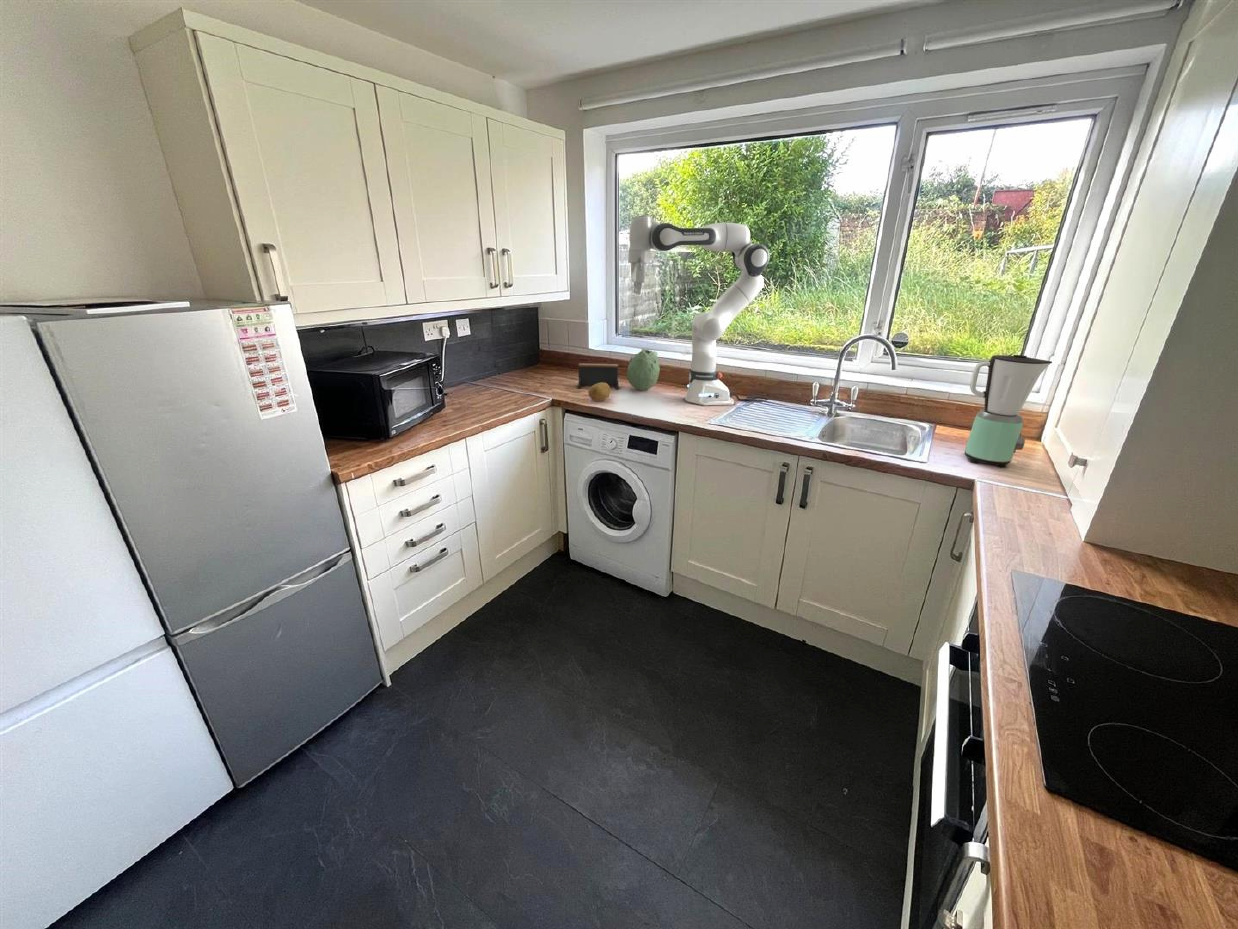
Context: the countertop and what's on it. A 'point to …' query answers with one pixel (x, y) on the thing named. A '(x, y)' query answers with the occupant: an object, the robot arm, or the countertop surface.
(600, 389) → the potato
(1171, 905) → the countertop surface
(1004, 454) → the green blender
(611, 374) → the shoe shelf
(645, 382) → the green rounded bumpy piece
